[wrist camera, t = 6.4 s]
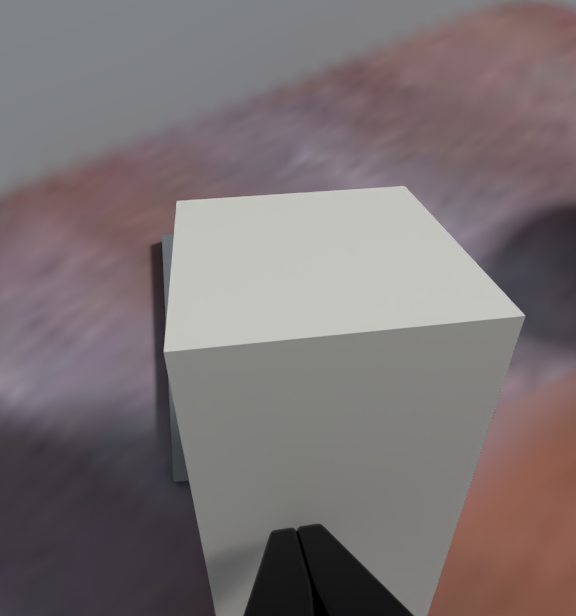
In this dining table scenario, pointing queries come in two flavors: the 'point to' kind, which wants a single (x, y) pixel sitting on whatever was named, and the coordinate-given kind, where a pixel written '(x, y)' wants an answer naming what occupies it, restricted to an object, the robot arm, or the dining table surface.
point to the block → (331, 379)
